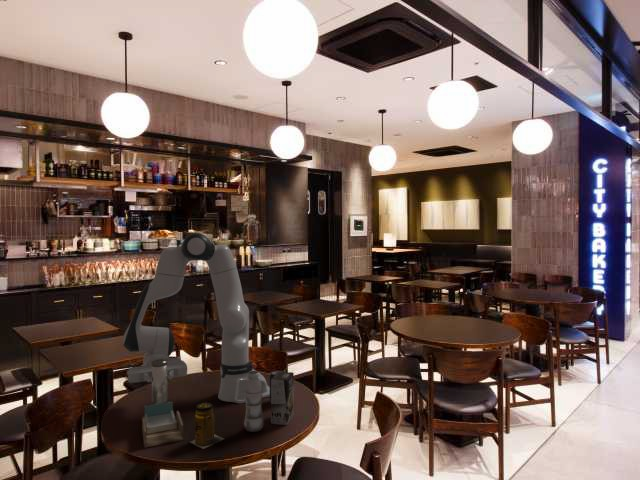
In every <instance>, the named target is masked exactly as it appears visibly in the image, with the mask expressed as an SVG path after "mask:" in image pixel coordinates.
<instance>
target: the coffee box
mask: <svg viewBox="0 0 640 480" xmlns="http://www.w3.org/2000/svg"><path fill="white" fill-rule="evenodd" d="M294 375H295V374H294V372H292V371H291V372H289V371H288V372H287V371H285V372H277V373H276V375H275V376H274V377H273V378H272V379H271V401H270V424H273V425H281V426H287V425H288V424H289V423H290V421H291V420H292V418H293V417H294V414H295V413H294V411H295V410H294V408H295V407H294V405H295V403H294V402H295V400H294V399H295V397H294V394H295V393H294V391H295V390H294V385H295V384H294V383H295V382H294Z"/></svg>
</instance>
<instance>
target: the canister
mask: <svg viewBox="0 0 640 480" xmlns="http://www.w3.org/2000/svg"><path fill="white" fill-rule="evenodd" d="M165 402H168V380H167V360H166V359H157V360H153V361H152V382H151V404H159V403H165Z"/></svg>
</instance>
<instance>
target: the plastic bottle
mask: <svg viewBox="0 0 640 480" xmlns="http://www.w3.org/2000/svg"><path fill="white" fill-rule="evenodd" d="M259 373H260V372H259V371H257V370H255V371H250V372H248V379H249V380H248V381H247V382H246V384H245V386H244V393H245V400H246V402H245V417H244V420H243V421H244V422H243V425H244V428H245V430H246V431H247V432H250V433H256V432H260V431H261V430H262V429H263V428H264V417H263V408H262V404H263V403H262V402H263V401H262V399H263V398H262V392H263V386H262V384H261V382H260V381H259V379H258V378H259Z"/></svg>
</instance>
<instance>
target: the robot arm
mask: <svg viewBox="0 0 640 480" xmlns="http://www.w3.org/2000/svg"><path fill="white" fill-rule="evenodd" d="M192 261H205V263H206V265H207V266H208V269H209V275H210V278H211V282H212V287H213V290H214V294H215V303H216V308H217V313H218V319H219V323H220V326H221V328H222V335H221V362H220V367H219V369H220V371H219V372H220V377H221V378H220V385H219V391H218V395H217V398H218V399H219V400H220V401H223V402H228V403H235V404H244V403H245V404H246V400H245V393H244V386H245V384H246V382H247V381H248V380H249V379H248V372H250V371H256V368H257V364H256V363H255V362H253V361H252V360H250V358H249V350H250V348H249V344H250V343H249V340H250V339H249V337H250V336H249V335H250V309H249V306H248V305H247V304H246V303H245V300H244V295H243V293H244V292H243V289H242V284H241V280H240V275H239V271H238V267H237V263H236V260H235V258H234V256H233V252H232V250H231V248H230V247H229V246H228V245H226V244H214V243H213V242H212V241H211V240H210V239H209V238H208V237H207V236H206V235H205V234H202V233H200V232H193V233H191V234H188V235H187V236H185V238H184V239H183V241H182V244H180V245H179V246H168V247H165V248H163V250H162V251H161V253H160V256H159V258H158V261H157V265H156V269H155V273H154V278H153V279H152V280H151V282H150V283H149V284H146V285H145V286H144V287H143V289H142V291H141V292H140V296H139V297H138V300H137V302H136V306H135V308H134V311H133V314H132V315H131V319H130V322H129V323H128V327H127V328H126V330H125V331H124V334H123V338H122V345H123V347H124V348H125V350H127V351H128V352H129V353H134V352H145V353H144V355H143V357H142V358H143V359H142V366H133V367H130V368H129V370H127V371H126V375H127V382H128V383H130V384H131V383H141V382H147V383H152V361H153V360H157V359H166V360H167V381H168V380H172V378H178V377H184V376H187V375H188V365H187V363H186V361H184V360H183V359H181V356H172V353H173V350H174V347H175V336H174V333H173V331H172V330H171V328H169V327H163V326H162V327H161V326H150V325H149V326H147V325H142V323H143V320H144V316H145V314H146V312H147V309H148V307H149V305H151V304H152V303H153V302H155V301H157V300H161V299H166V298H169V297H172V296H174V295H177V294H178V293H179V292H180V291H181V289H182V287H183V285H184V284H183V283H184V280H185V274H186V268H187V266H188V264H189V263H190V262H192ZM258 379H259V381H260V382H261V384H262V386H263V392H262V399H263V398H264V399H265V398H267V397H270V385H268V383H267V380H266V377H264V375H262V374H261V373H260V372H259V378H258Z"/></svg>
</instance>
